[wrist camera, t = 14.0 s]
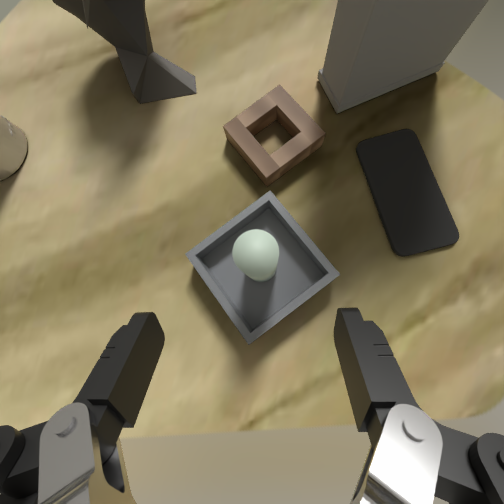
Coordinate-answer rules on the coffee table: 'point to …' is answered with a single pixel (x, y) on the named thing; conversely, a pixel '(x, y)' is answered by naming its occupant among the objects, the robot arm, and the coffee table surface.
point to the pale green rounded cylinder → (256, 254)
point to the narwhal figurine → (133, 47)
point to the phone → (406, 193)
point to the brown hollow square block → (261, 116)
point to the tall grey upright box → (389, 45)
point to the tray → (274, 290)
